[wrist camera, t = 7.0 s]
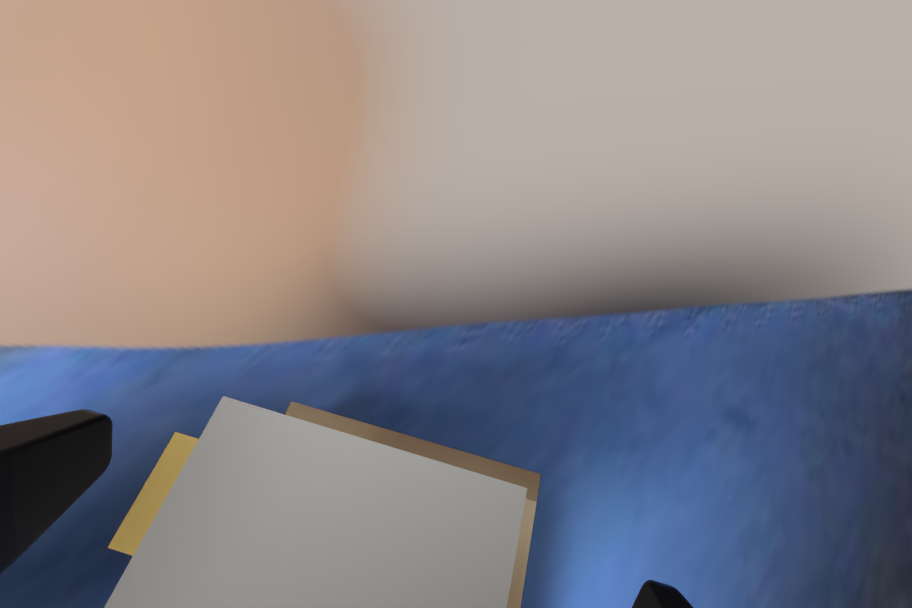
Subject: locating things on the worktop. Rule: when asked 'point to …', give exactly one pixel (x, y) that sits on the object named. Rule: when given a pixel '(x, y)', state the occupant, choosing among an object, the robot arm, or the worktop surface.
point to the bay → (451, 458)
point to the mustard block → (153, 494)
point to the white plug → (321, 524)
